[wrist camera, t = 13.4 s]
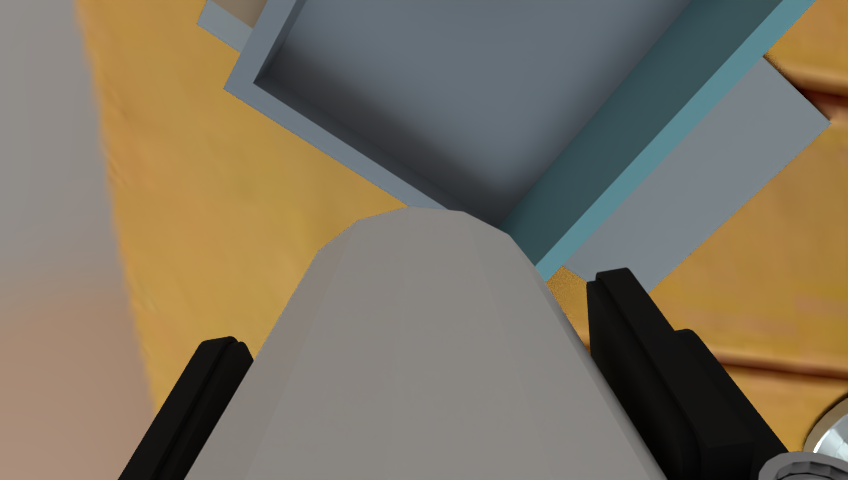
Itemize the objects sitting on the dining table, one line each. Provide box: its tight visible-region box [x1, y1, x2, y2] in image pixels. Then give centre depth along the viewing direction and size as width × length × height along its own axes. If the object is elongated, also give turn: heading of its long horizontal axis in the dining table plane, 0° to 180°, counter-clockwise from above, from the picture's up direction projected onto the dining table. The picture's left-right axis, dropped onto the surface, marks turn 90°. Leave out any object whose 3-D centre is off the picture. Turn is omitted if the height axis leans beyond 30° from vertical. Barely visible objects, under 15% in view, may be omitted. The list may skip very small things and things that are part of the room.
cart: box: [223, 0, 816, 283], centre depth 19 cm, size 14×14×8 cm
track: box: [197, 0, 832, 294], centre depth 23 cm, size 28×14×3 cm, turn 55°
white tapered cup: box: [184, 206, 668, 480], centre depth 8 cm, size 7×7×7 cm
